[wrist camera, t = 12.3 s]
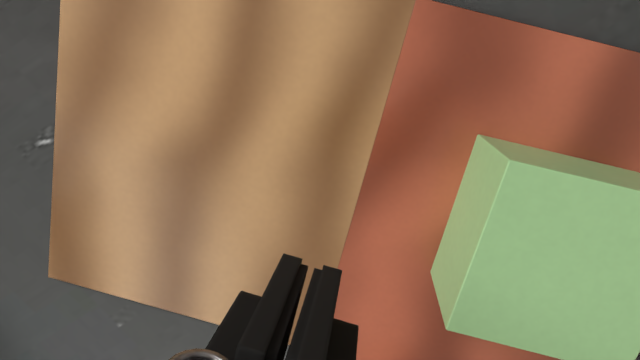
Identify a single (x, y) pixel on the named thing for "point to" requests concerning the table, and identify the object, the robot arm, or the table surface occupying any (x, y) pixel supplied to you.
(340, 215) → the plate
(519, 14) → the table surface
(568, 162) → the green block
